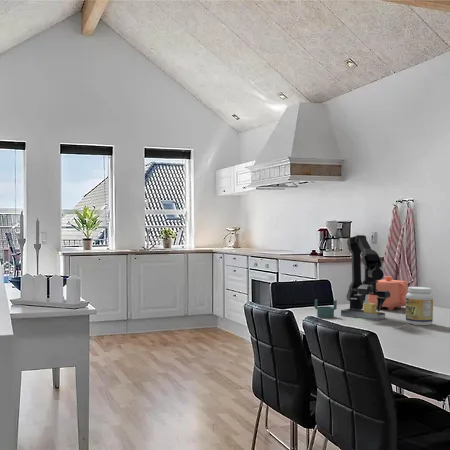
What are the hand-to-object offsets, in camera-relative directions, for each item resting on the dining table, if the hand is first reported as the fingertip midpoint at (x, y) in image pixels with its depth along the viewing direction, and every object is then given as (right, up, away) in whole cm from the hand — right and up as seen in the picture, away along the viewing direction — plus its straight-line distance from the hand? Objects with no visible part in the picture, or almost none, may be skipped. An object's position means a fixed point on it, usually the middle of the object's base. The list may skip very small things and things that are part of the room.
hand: (370, 310), depth 295 cm
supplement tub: (+20, -5, -12) cm, 24 cm away
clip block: (0, -2, 0) cm, 2 cm away
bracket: (-22, -4, +2) cm, 22 cm away
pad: (-6, -4, -8) cm, 11 cm away
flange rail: (-2, -4, +2) cm, 5 cm away
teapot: (+23, -5, +43) cm, 49 cm away
